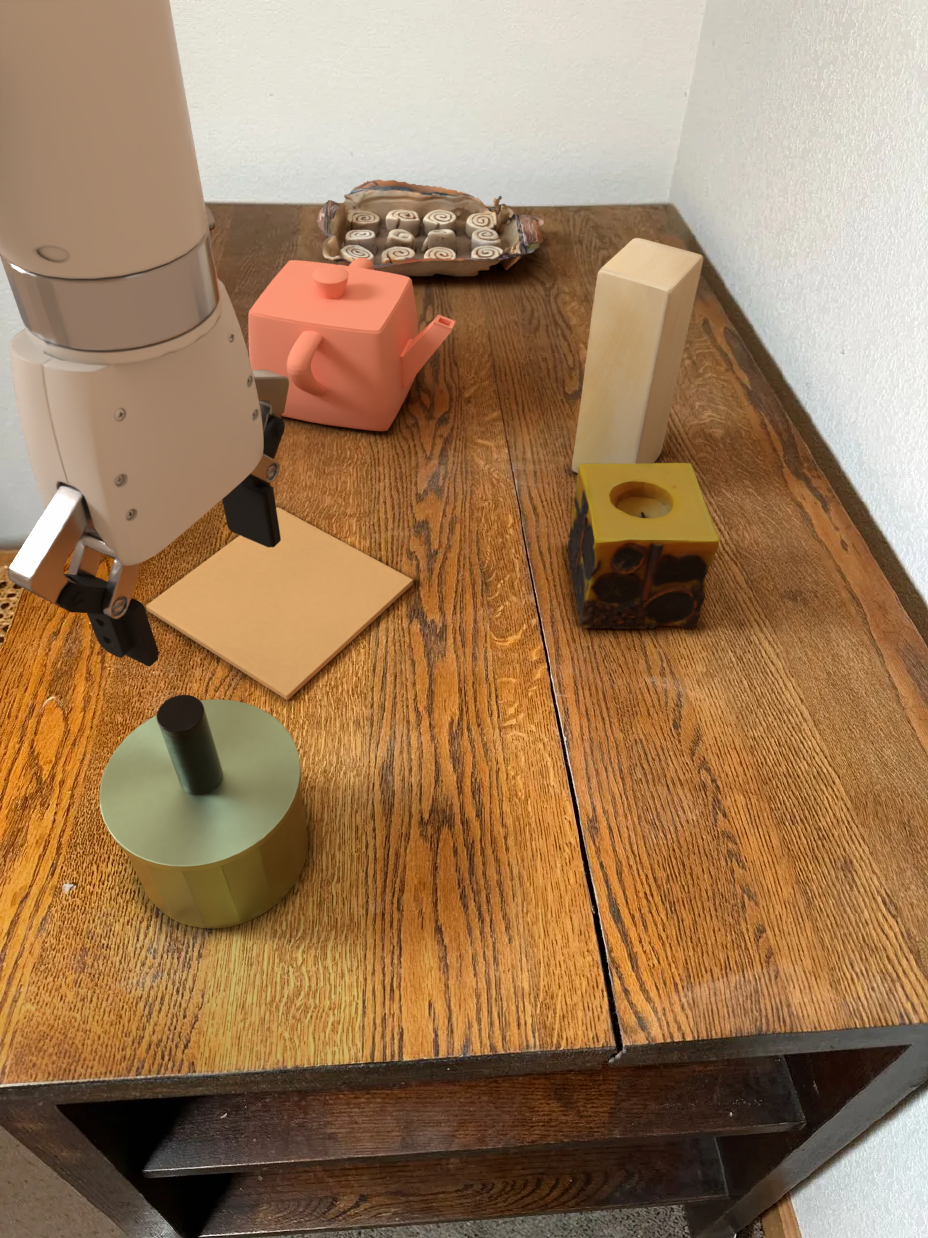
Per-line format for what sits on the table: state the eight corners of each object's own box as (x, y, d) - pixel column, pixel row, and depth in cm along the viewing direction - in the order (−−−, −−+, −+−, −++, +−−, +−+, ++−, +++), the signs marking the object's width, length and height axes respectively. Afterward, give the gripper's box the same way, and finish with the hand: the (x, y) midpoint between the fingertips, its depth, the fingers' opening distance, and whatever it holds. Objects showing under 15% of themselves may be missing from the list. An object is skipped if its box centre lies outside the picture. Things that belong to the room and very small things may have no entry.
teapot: (234, 442, 94) (210, 317, 84) (310, 332, 109) (297, 214, 99) (424, 475, 92) (423, 350, 81) (475, 358, 106) (480, 239, 96)
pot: (224, 963, 58) (199, 901, 52) (105, 866, 63) (69, 798, 56) (341, 835, 65) (332, 766, 58) (225, 754, 69) (205, 682, 63)
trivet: (287, 700, 72) (286, 696, 72) (146, 610, 78) (145, 605, 78) (413, 584, 81) (413, 579, 81) (278, 511, 87) (277, 506, 87)
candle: (697, 630, 79) (725, 543, 71) (579, 632, 78) (594, 544, 71) (674, 547, 86) (697, 460, 78) (564, 549, 85) (577, 461, 78)
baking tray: (529, 212, 132) (532, 172, 128) (559, 287, 118) (563, 245, 114) (316, 218, 129) (313, 178, 125) (320, 297, 115) (316, 254, 111)
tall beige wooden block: (597, 429, 98) (628, 232, 82) (662, 452, 95) (707, 254, 80) (562, 469, 93) (589, 268, 77) (630, 495, 90) (671, 293, 75)
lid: (201, 915, 52) (173, 847, 47) (62, 805, 57) (21, 730, 51) (341, 770, 59) (332, 695, 53) (207, 681, 63) (185, 604, 58)
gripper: (189, 179, 42) (243, 477, 55) (-147, 355, 32) (15, 674, 44) (326, 218, 40) (350, 521, 52) (13, 422, 29) (136, 739, 42)
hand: (196, 590), depth 48 cm, fingers open, 9 cm apart
